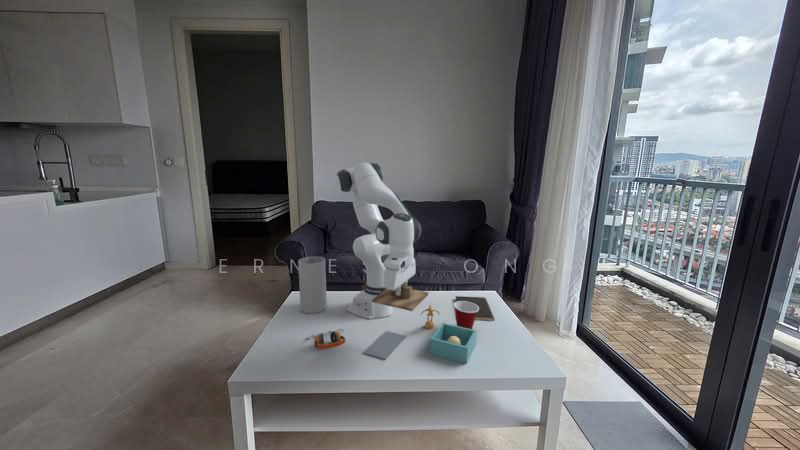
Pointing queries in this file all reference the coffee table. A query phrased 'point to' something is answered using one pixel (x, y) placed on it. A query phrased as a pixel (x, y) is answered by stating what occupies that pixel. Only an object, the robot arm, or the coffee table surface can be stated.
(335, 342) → the headphones
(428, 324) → the figurine
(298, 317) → the coffee table surface
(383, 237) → the robot arm
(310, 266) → the cylinder vase
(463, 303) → the plastic cup
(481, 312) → the hardcover book
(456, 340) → the ball
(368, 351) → the mat
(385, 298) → the lid
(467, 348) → the open box
